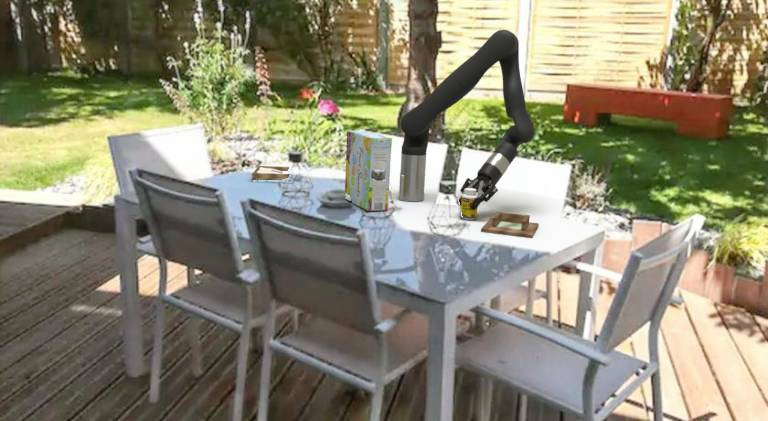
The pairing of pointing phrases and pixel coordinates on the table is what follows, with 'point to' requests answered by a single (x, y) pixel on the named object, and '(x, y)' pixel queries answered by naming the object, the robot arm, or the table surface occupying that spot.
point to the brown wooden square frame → (510, 225)
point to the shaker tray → (270, 176)
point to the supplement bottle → (468, 204)
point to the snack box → (367, 169)
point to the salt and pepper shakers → (269, 171)
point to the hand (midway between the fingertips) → (465, 206)
